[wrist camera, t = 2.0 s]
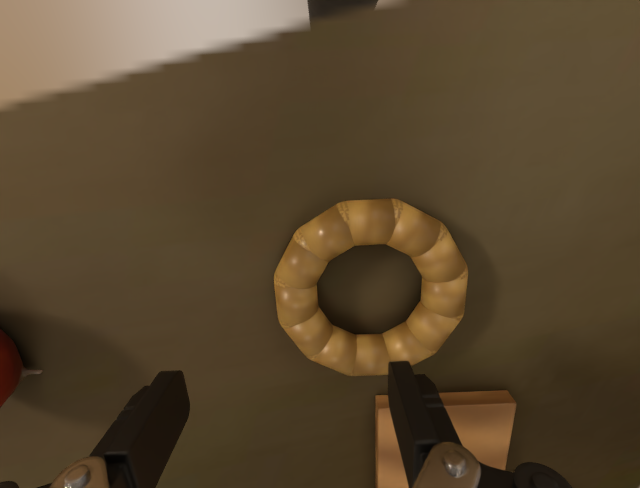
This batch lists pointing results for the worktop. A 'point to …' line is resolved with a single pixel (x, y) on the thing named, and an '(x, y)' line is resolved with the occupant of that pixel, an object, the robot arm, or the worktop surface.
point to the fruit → (10, 367)
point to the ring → (369, 229)
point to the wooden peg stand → (469, 422)
